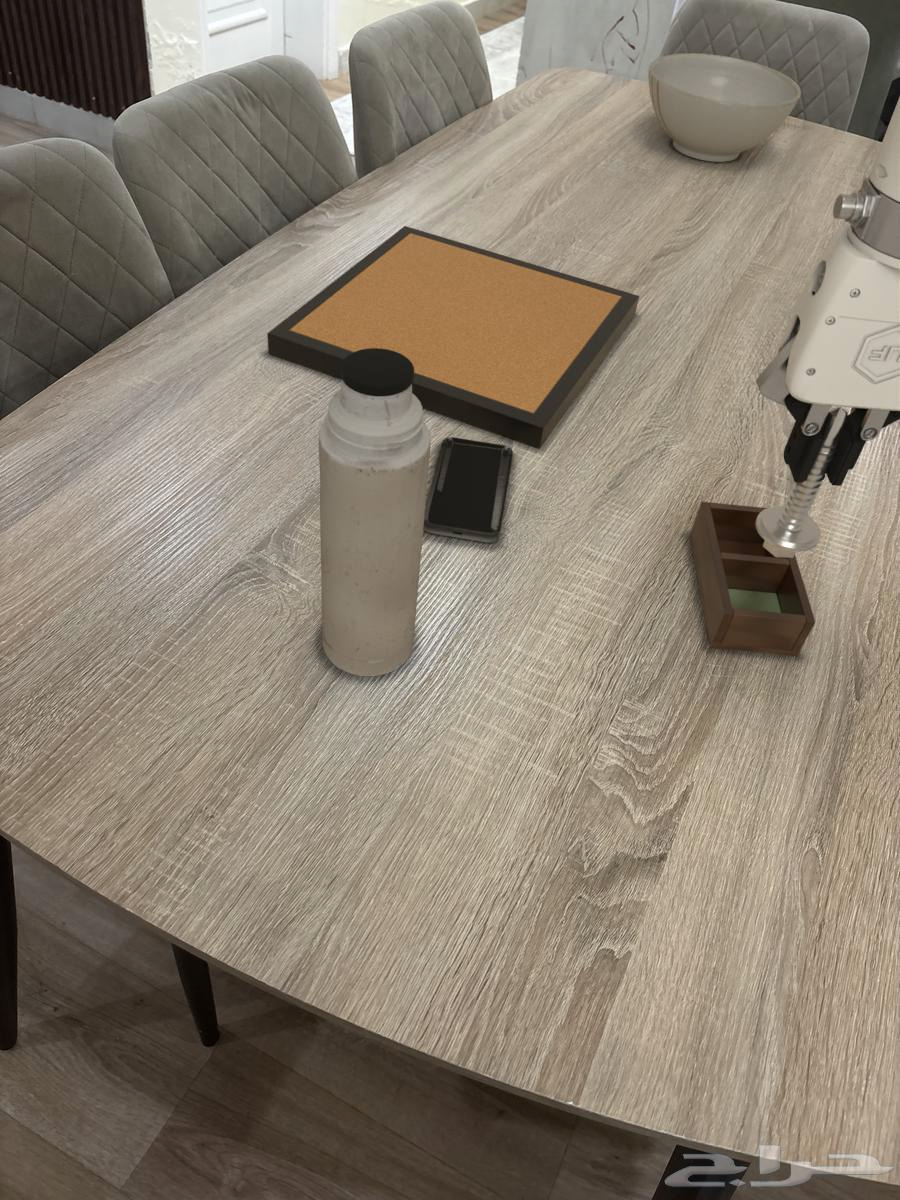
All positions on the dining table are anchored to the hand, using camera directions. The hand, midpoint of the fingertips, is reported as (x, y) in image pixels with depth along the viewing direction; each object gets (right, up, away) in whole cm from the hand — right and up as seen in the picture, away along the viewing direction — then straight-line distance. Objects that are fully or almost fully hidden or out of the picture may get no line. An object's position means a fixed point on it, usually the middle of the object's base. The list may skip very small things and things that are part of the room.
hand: (813, 470), depth 68 cm
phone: (-24, +2, +31) cm, 39 cm away
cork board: (-25, +25, +53) cm, 63 cm away
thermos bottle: (-34, -13, +15) cm, 39 cm away
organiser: (+2, -9, +23) cm, 25 cm away
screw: (-1, -5, +6) cm, 8 cm away
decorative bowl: (+21, +74, +106) cm, 131 cm away
